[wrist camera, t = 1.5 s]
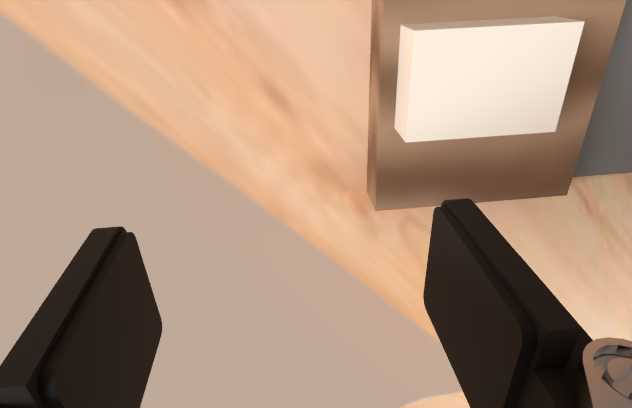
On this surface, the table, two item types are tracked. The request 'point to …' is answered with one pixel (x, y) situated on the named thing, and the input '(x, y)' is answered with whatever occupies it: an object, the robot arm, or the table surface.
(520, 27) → the ivory tile
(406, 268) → the table surface
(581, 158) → the charcoal mat
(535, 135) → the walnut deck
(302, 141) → the table surface
